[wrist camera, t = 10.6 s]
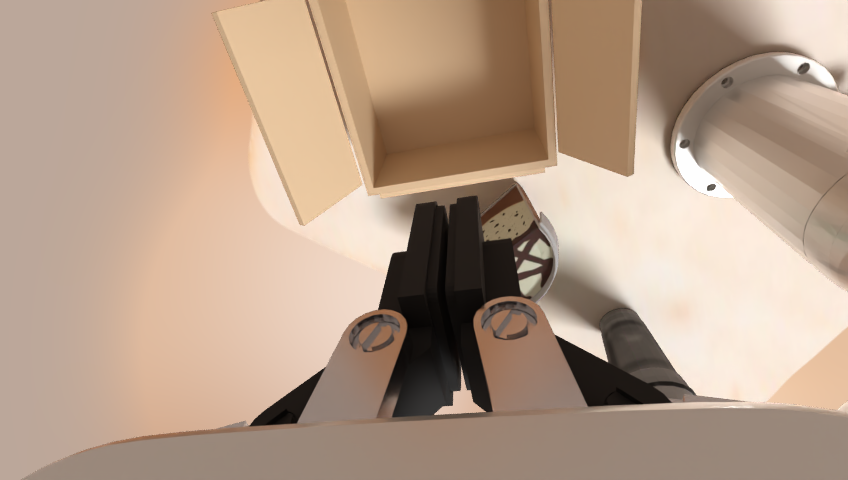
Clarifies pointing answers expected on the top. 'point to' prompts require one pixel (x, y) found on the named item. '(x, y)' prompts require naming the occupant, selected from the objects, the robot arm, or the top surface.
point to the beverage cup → (640, 353)
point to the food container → (524, 240)
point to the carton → (442, 89)
